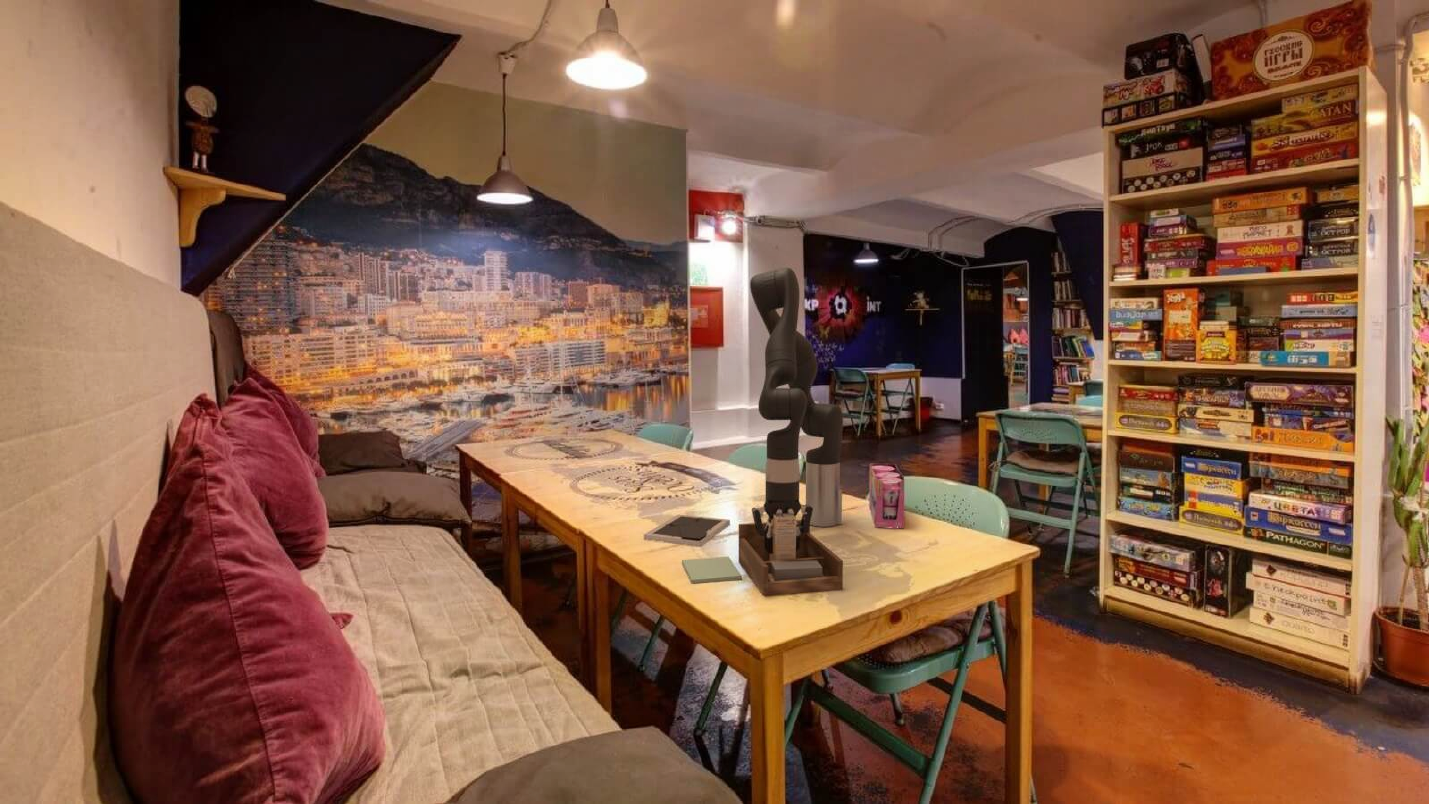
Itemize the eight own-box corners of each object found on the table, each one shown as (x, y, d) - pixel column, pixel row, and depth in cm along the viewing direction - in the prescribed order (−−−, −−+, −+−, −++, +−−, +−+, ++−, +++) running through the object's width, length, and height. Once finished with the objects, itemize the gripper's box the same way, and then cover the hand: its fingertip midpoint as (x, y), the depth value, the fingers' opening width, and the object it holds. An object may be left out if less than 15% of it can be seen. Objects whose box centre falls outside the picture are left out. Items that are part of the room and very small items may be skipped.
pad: (728, 559, 161) (728, 556, 161) (741, 579, 149) (741, 575, 148) (681, 563, 159) (681, 560, 159) (691, 583, 146) (691, 579, 146)
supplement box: (768, 562, 159) (768, 507, 158) (789, 562, 159) (789, 506, 158) (774, 575, 151) (774, 517, 149) (796, 574, 151) (796, 516, 150)
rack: (808, 556, 163) (808, 519, 162) (842, 589, 143) (843, 546, 142) (738, 562, 160) (738, 524, 159) (763, 595, 139) (763, 552, 138)
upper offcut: (817, 571, 148) (817, 560, 148) (822, 579, 143) (822, 567, 143) (771, 573, 147) (771, 562, 147) (774, 581, 143) (774, 569, 142)
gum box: (905, 530, 184) (906, 480, 182) (875, 529, 185) (876, 480, 183) (895, 507, 207) (896, 463, 206) (868, 507, 208) (869, 462, 207)
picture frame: (699, 549, 171) (729, 527, 190) (699, 538, 171) (729, 517, 190) (643, 542, 177) (678, 521, 196) (643, 531, 177) (678, 511, 196)
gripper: (807, 472, 158) (806, 544, 160) (746, 475, 155) (747, 549, 157) (819, 479, 151) (818, 555, 152) (755, 482, 148) (755, 559, 150)
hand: (782, 551), depth 155 cm, fingers closed on supplement box, 5 cm apart
